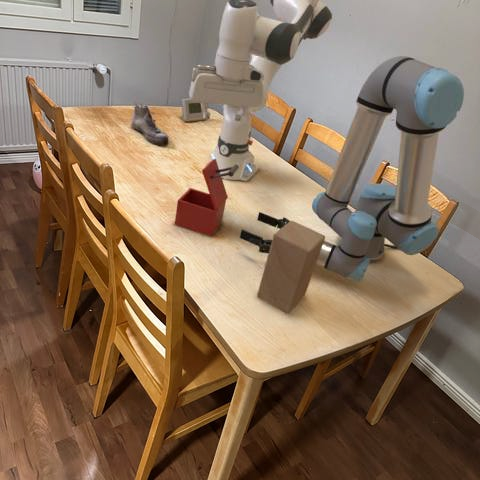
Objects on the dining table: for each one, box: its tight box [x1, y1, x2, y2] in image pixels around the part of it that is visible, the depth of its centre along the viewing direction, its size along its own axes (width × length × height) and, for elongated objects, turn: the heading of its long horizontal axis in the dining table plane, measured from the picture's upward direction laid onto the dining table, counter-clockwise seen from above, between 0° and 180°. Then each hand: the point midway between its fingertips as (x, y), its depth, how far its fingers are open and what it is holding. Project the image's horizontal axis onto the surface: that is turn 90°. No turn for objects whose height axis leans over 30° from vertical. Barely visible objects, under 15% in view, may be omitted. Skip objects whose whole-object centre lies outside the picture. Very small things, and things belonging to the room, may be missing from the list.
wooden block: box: [256, 220, 326, 314], centre depth 113 cm, size 10×10×20 cm
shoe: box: [130, 103, 169, 147], centre depth 193 cm, size 25×11×12 cm, turn 30°
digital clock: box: [181, 97, 209, 123], centre depth 223 cm, size 16×9×11 cm, turn 123°
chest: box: [174, 187, 227, 238], centre depth 140 cm, size 13×10×9 cm
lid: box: [201, 159, 239, 211], centre depth 132 cm, size 13×10×8 cm
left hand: (222, 119), depth 123 cm, fingers open, 8 cm apart
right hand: (249, 224), depth 134 cm, fingers open, 13 cm apart
